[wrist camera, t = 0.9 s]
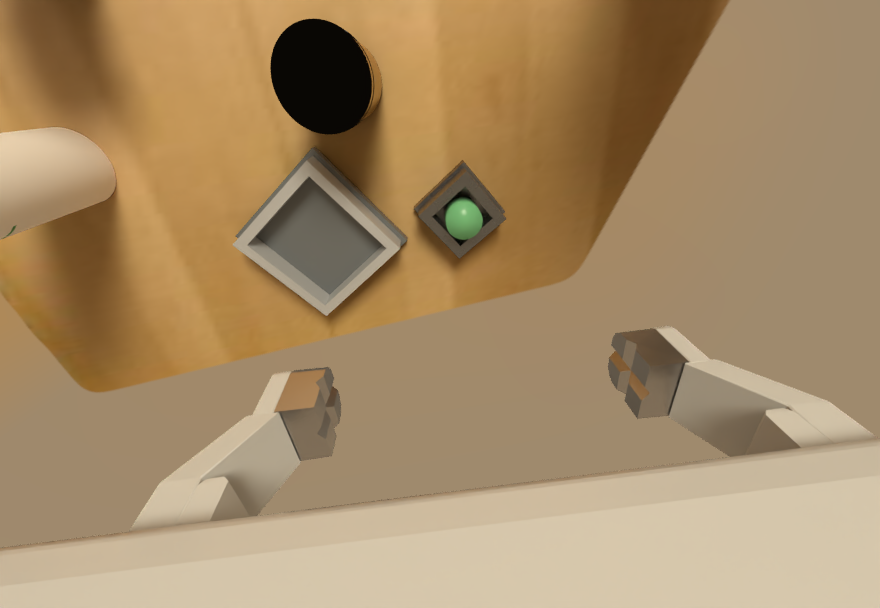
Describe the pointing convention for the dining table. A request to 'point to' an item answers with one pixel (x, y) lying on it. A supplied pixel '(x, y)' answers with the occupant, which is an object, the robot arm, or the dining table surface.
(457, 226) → the button
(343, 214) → the square shallow tray
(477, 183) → the button housing
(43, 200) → the cylindrical container
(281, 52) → the supplement container
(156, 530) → the robot arm
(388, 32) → the dining table surface
